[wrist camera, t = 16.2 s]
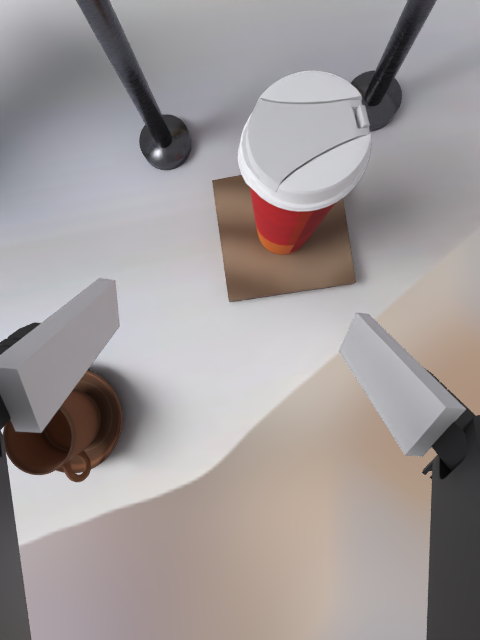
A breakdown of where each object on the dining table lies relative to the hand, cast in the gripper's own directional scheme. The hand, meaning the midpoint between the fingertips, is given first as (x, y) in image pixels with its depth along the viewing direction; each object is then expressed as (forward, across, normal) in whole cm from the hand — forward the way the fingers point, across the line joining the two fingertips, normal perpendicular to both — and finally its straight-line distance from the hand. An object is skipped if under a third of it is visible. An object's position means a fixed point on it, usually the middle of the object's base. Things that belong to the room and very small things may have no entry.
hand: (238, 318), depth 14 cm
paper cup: (+17, +5, +2) cm, 18 cm away
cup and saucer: (+9, -16, -21) cm, 28 cm away
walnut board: (+18, +5, +2) cm, 18 cm away
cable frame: (+25, +2, +13) cm, 28 cm away
